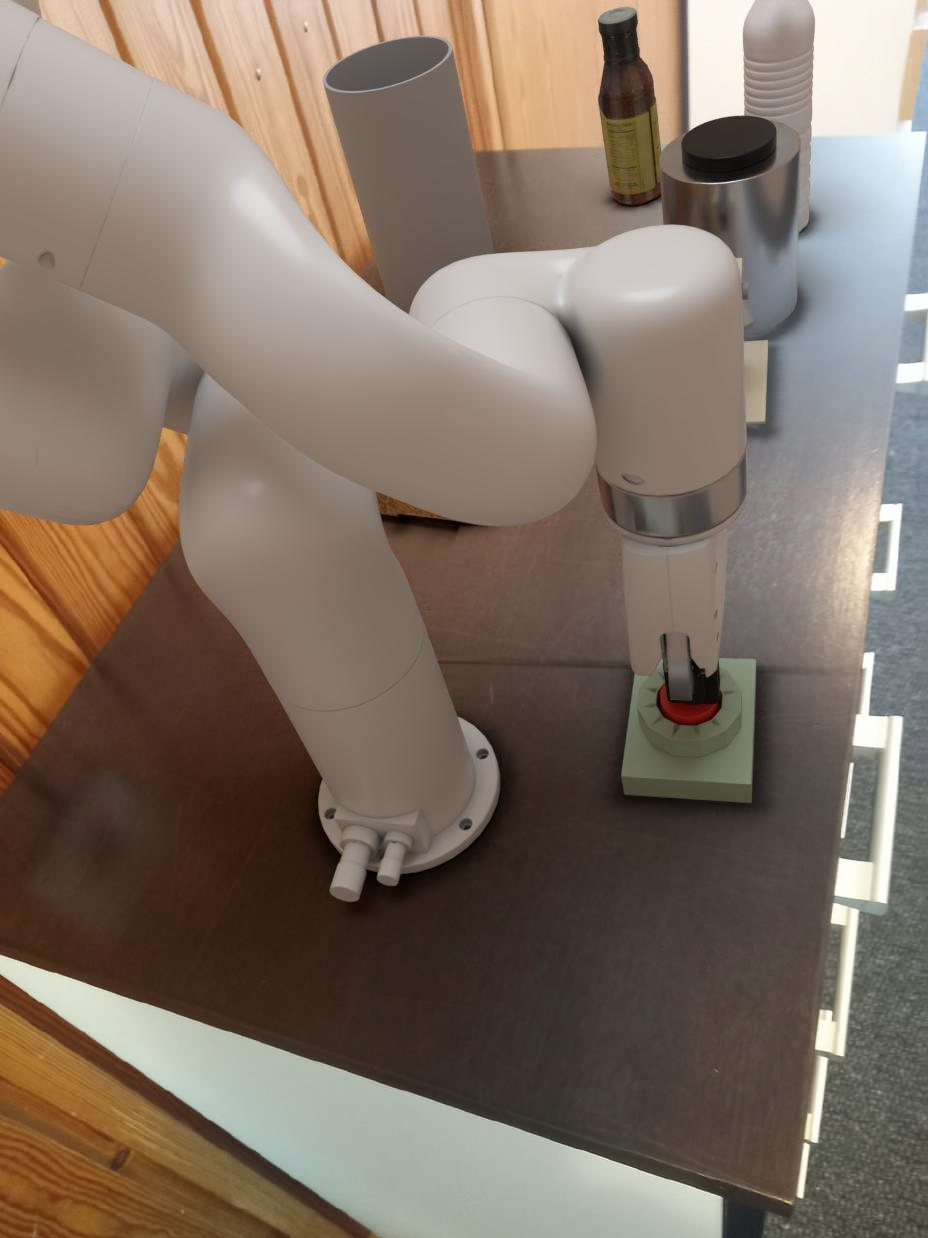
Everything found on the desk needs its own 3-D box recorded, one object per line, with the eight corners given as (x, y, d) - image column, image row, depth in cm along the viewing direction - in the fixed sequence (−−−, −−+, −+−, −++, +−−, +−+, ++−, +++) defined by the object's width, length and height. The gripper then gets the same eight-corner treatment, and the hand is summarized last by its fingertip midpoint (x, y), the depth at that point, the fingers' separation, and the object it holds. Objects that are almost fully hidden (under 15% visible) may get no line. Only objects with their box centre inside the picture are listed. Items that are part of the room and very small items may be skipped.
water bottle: (744, 214, 113) (740, -43, 95) (806, 205, 112) (814, -57, 94) (747, 254, 108) (744, -10, 90) (813, 246, 106) (823, -25, 88)
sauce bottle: (637, 177, 124) (620, -4, 110) (676, 188, 120) (664, 2, 106) (598, 201, 122) (576, 20, 108) (636, 214, 118) (619, 27, 104)
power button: (717, 735, 66) (716, 718, 64) (659, 732, 67) (657, 716, 65) (719, 690, 68) (719, 673, 67) (664, 688, 69) (662, 672, 68)
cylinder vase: (472, 336, 108) (414, 90, 90) (371, 328, 113) (298, 94, 96) (519, 272, 115) (474, 31, 97) (422, 268, 120) (362, 39, 102)
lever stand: (765, 432, 88) (765, 310, 80) (659, 435, 91) (648, 318, 82) (768, 350, 96) (768, 231, 87) (670, 356, 98) (661, 241, 90)
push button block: (751, 803, 65) (751, 767, 62) (624, 795, 67) (618, 760, 64) (756, 679, 71) (755, 641, 68) (639, 675, 73) (634, 638, 71)
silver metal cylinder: (796, 342, 96) (801, 160, 83) (665, 350, 99) (651, 176, 87) (797, 263, 105) (801, 87, 92) (676, 272, 108) (665, 104, 96)
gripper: (615, 390, 59) (646, 606, 72) (579, 580, 49) (622, 790, 62) (752, 382, 56) (758, 607, 70) (742, 580, 47) (751, 797, 60)
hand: (694, 693), depth 66 cm, fingers closed
